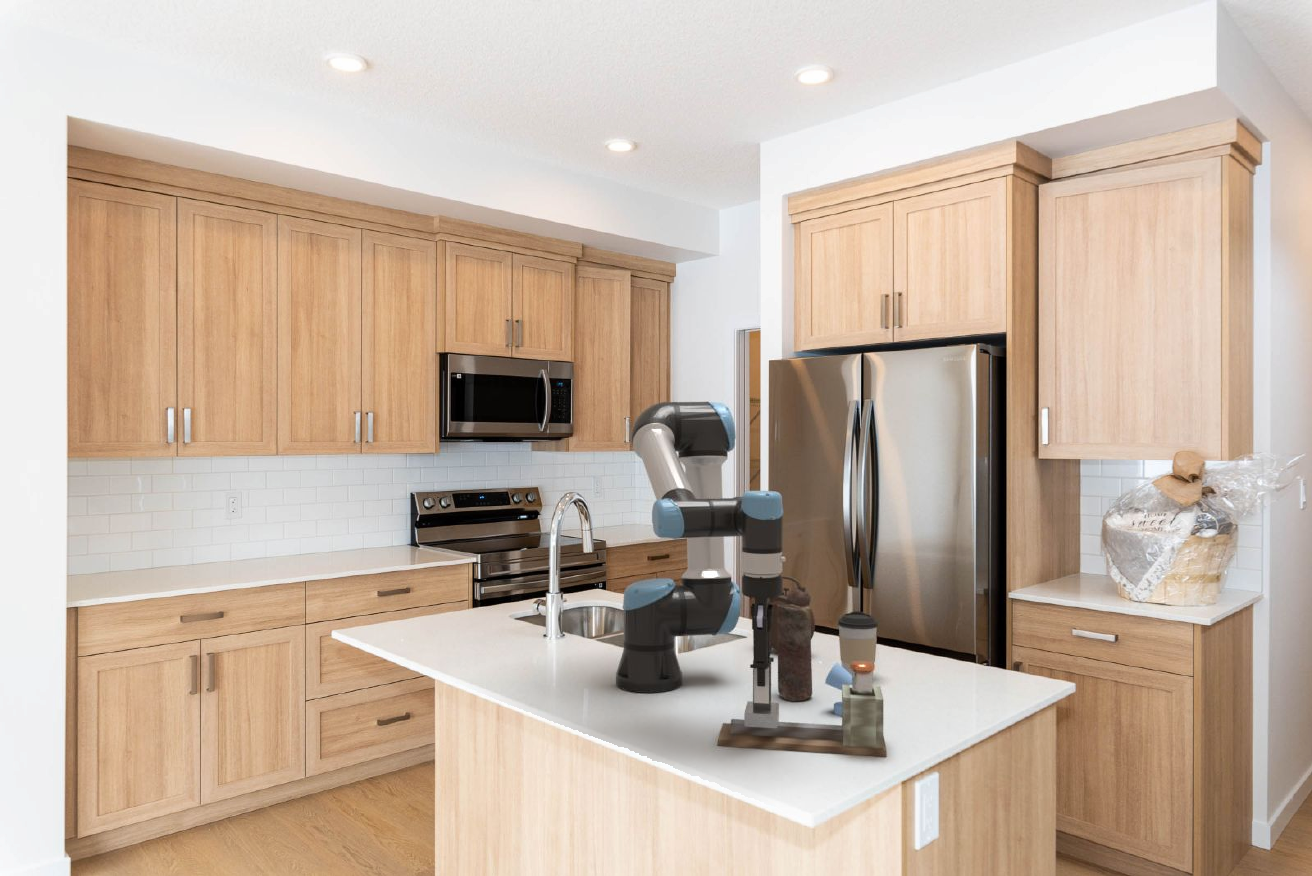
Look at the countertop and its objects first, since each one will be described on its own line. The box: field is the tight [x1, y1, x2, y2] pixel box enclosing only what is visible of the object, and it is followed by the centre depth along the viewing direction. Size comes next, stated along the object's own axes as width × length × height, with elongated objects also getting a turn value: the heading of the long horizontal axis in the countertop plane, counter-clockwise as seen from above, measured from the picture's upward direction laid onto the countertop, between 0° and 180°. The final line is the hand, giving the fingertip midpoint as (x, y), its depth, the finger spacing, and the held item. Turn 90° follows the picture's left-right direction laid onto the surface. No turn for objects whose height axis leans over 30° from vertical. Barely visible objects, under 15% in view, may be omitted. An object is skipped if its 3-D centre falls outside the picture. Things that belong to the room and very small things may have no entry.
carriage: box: [743, 658, 780, 728], centre depth 163 cm, size 6×7×12 cm
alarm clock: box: [769, 575, 816, 652], centre depth 227 cm, size 15×7×20 cm, turn 44°
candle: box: [777, 604, 813, 702], centre depth 190 cm, size 8×7×20 cm
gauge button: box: [850, 661, 876, 696], centre depth 160 cm, size 4×4×8 cm
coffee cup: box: [837, 610, 878, 681], centre depth 204 cm, size 9×9×15 cm
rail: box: [717, 685, 888, 758], centre depth 162 cm, size 30×9×10 cm, turn 79°
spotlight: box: [824, 662, 852, 717], centre depth 179 cm, size 5×10×7 cm
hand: (762, 699), depth 163 cm, fingers closed on carriage, 2 cm apart
